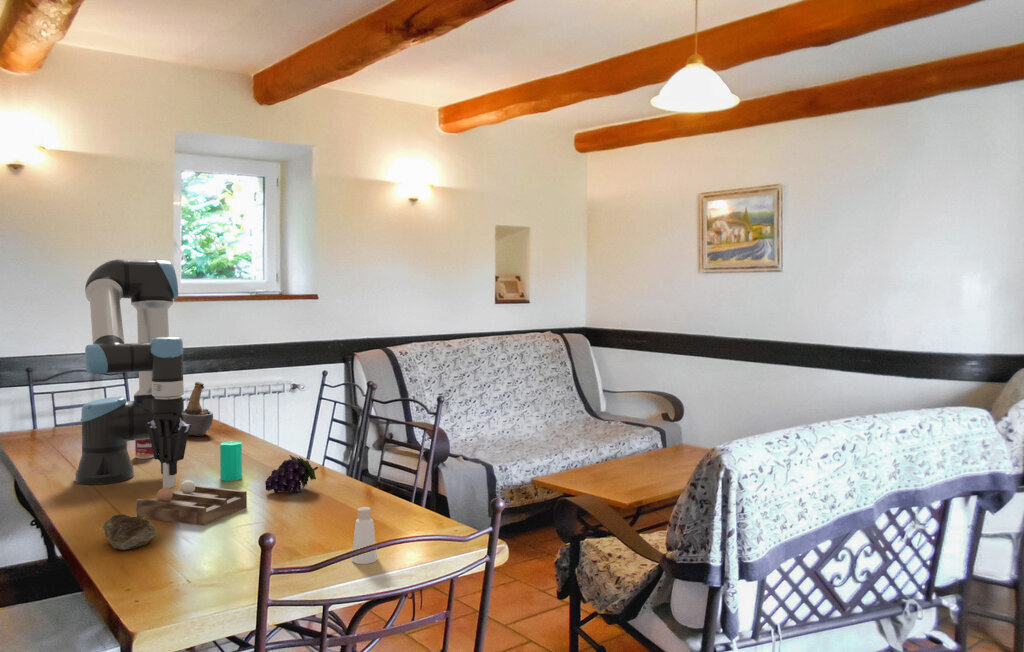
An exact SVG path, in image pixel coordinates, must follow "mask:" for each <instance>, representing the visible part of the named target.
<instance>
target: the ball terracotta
mask: <svg viewBox="0 0 1024 652" xmlns="http://www.w3.org/2000/svg"><path fill="white" fill-rule="evenodd" d="M172 492H173V491H172V490H171V488H163V487H162V488H161V489H159V490H158V491H157V494H156V498H157V499H158V500H159V501H161V502H169V501H170V500H171V499H172V497H173V493H172Z"/></svg>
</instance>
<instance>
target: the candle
mask: <svg viewBox="0 0 1024 652" xmlns="http://www.w3.org/2000/svg"><path fill="white" fill-rule="evenodd" d="M219 449H220V450H219V455H220V457H219V458H220V459H219V460H220V461H219V463H220V467H219V468H220V469H219V470H220V472H219V473H220V474H219V475H220V477H219V478H220V480H221V481H224V482H233V480H234V481H238V479H239V480H241V479H242V478H243V443H242V442H241V441H232V440H229V441H225V442H221V443H220V444H219Z"/></svg>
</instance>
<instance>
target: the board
mask: <svg viewBox="0 0 1024 652" xmlns="http://www.w3.org/2000/svg"><path fill="white" fill-rule="evenodd" d="M172 493H173V497H172V499H171V500H170V501H169V502H161V501H159V500H158V499H157V497H155V498H152V499H145V498H138V499H136V500H135V502H136V505H135V506H136V517H137V516H141V517H143V518H144V519H151V520H159V521H167V522H172V523H181V524H189V525H196V526H203V527H204V526H206V525H208V524H211V523H213V522H216V521H218V520H220V519H222V518H224V517H227V516H230V515H232V514H235V513H237V512H239V511H242V510H243V509H246V508H247V507H248V499H247V498H248V497H247V491H246V490H239V489H230V488H222V487H220V488H219V487H211V486H203V485H196V484H195V490H194V492H193V493H191V494H184V493H182V492H181V490H180V489H179V490H175V491H172Z"/></svg>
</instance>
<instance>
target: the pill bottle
mask: <svg viewBox="0 0 1024 652" xmlns="http://www.w3.org/2000/svg"><path fill="white" fill-rule="evenodd" d="M134 441H135V442H134V445H135V449H134V451H135V453H134V454H135V455H134V456H135V459H141V460H143V459H144V460H145V459H152V458H153V459H154V455H153V450H152V446H151V441H150V439H145V440H134Z"/></svg>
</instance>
